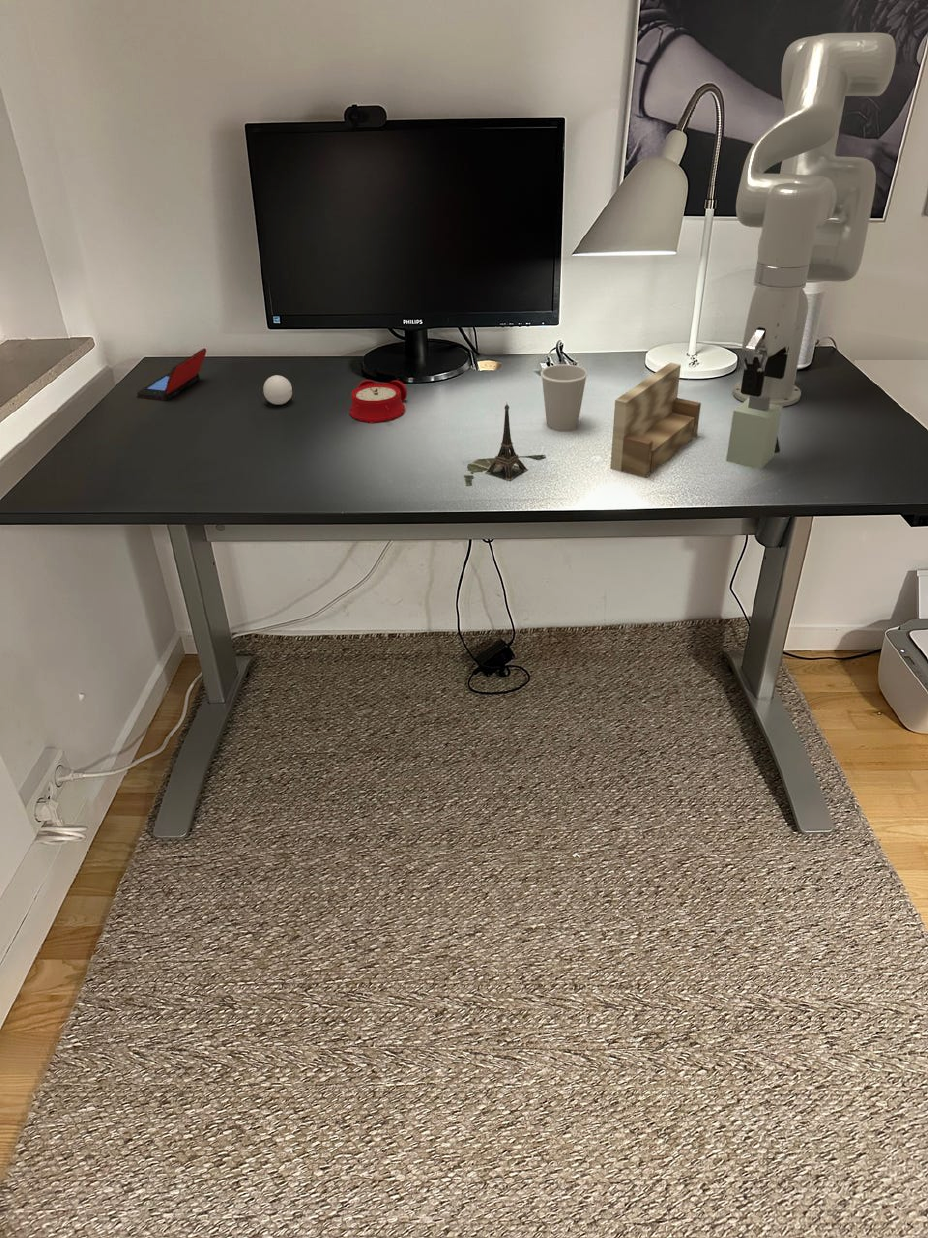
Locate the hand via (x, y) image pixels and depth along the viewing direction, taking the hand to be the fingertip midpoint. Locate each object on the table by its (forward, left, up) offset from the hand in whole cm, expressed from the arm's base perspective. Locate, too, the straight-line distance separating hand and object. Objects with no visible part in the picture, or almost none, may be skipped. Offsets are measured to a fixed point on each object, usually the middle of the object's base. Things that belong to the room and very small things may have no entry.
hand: (762, 385), depth 145 cm
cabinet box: (-1, 0, -13) cm, 13 cm away
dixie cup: (+4, -34, -13) cm, 37 cm away
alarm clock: (+16, -68, -14) cm, 72 cm away
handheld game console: (+31, -111, -14) cm, 116 cm away
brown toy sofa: (+5, -15, -13) cm, 21 cm away
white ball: (+24, -87, -13) cm, 91 cm away
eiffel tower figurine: (+25, -32, -14) cm, 43 cm away
